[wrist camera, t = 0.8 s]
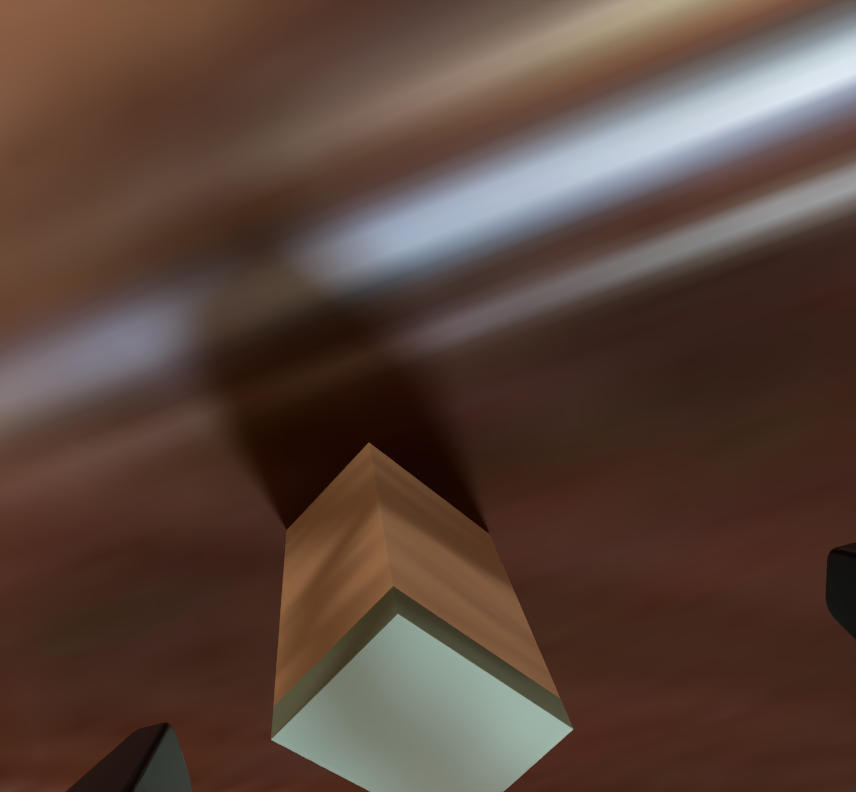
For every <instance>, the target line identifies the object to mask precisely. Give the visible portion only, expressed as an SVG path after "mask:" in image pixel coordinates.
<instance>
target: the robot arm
mask: <svg viewBox="0 0 856 792" xmlns="http://www.w3.org/2000/svg"><path fill="white" fill-rule="evenodd" d="M826 603H827V607H828V609H829V611H830V613H831V614H832V616H833V617H834V619H835V620H836V621H837V622H838V623H839V624H840V625H841V626H842V627H843V628H844V629H845V630H846V631H847V632H848V633H849V634H850V635H851V636H852V637H853V638H854V639H855V640H856V543H852V544H848V545H844V546H840V547H836V548H834V549H832V550H831V551H830V553H829V555H828V558H827V576H826ZM66 792H191V784H190V778H189V773H188V770H187V767H186V764H185V760H184V757H183V754H182V751H181V748H180V745H179V742H178V739H177V736H176V733H175V730H174V728H173V727H172V726H171V725H170V724H169V723H161V724H157V725H153V726H149V727H145V728H141V729H138V730H136V731H135V732H133V733H132V734H131V735H130V736H129V737H127V738H126V739H125V740H124V741H123V742H122V743H121V744H119V745H118V746H117V747H116V748H115V749H114V750H113V751H111V752H110V753H109V754H108V755H107V756H106V757H105V758H104V759H102V760H101V761H100V762H99V763H98V764H97V765H96V766H94V767H93V768H92V769H91V770H90V771H89V772H88V773H86V774H85V775H84V776H83V777H82V778H81V779H80V780H78V781H77V782H76V783H75V784H74V785H73V786H72V787H70V788H69V789H68V790H67V791H66Z"/></svg>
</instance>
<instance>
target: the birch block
mask: <svg viewBox="0 0 856 792" xmlns="http://www.w3.org/2000/svg"><path fill="white" fill-rule="evenodd" d="M572 730H573V727H572V725H571V723H570V720H569V718H568V716H567V713H566V711H565V709H564V706H563V704H562V702H561V699H560V697H559V695H558V692H557V690H556V688H555V685H554V683H553V681H552V678H551V676H550V674H549V671H548V669H547V667H546V664H545V662H544V660H543V657H542V655H541V653H540V650H539V648H538V646H537V643H536V641H535V639H534V636H533V634H532V632H531V629H530V627H529V625H528V622H527V620H526V618H525V615H524V613H523V611H522V609H521V606H520V604H519V602H518V599H517V597H516V595H515V592H514V590H513V588H512V585H511V583H510V581H509V578H508V576H507V574H506V571H505V569H504V567H503V564H502V562H501V560H500V557H499V555H498V553H497V550H496V548H495V546H494V543H493V541H492V539H491V536H490V534H489V533H487V532H486V531H485V530H483V529H482V528H481V527H479V526H478V525H477V524H475V523H474V522H473V521H472V520H470V519H469V518H468V517H466V516H465V515H464V514H462V513H461V512H460V511H458V510H457V509H456V508H454V507H453V506H452V505H451V504H449V503H448V502H447V501H445V500H444V499H443V498H441V497H440V496H439V495H437V494H436V493H435V492H433V491H432V490H431V489H430V488H428V487H427V486H426V485H424V484H423V483H422V482H420V481H419V480H418V479H416V478H415V477H414V476H412V475H411V474H410V473H409V472H407V471H406V470H405V469H403V468H402V467H401V466H399V465H398V464H397V463H395V462H394V461H393V460H391V459H390V458H389V457H388V456H386V455H385V454H384V453H382V452H381V451H380V450H378V449H377V448H376V447H374V446H373V445H372V444H370V443H368V444H367V445H366V446H365V447H364V448H363V449H362V450H361V451H360V452H359V453H358V455H357V456H356V457H355V458H354V459H353V460H352V461H351V462H350V463H349V464H348V465H347V466H346V467H345V468H344V470H343V471H342V472H341V473H340V474H339V475H338V476H337V477H336V478H335V479H334V480H333V481H332V482H331V483H330V484H329V486H328V487H327V488H326V489H325V490H324V491H323V492H322V493H321V494H320V495H319V496H318V497H317V498H316V499H315V501H314V502H313V503H312V504H311V505H310V506H309V507H308V508H307V509H306V510H305V511H304V512H303V513H302V514H301V515H300V517H299V518H298V519H297V520H296V521H295V522H294V523H293V524H292V525H291V526H290V527H289V528H288V529H287V534H286V547H285V560H284V574H283V587H282V601H281V614H280V628H279V641H278V655H277V668H276V682H275V695H274V708H273V722H272V735H271V740H273V741H275V742H277V743H278V744H280V745H282V746H284V747H286V748H288V749H290V750H292V751H294V752H296V753H298V754H299V755H301V756H303V757H305V758H307V759H309V760H311V761H313V762H315V763H317V764H319V765H321V766H322V767H324V768H326V769H328V770H330V771H332V772H334V773H336V774H338V775H340V776H342V777H343V778H345V779H347V780H349V781H351V782H353V783H355V784H357V785H359V786H361V787H363V788H365V789H366V790H368V791H370V792H503V791H505V790H506V789H507V788H508V787H509V786H510V785H511V784H512V783H514V782H515V781H516V780H517V779H518V778H519V777H520V776H521V775H523V774H524V773H525V772H526V771H527V770H528V769H529V768H530V767H532V766H533V765H534V764H535V763H536V762H537V761H538V760H539V759H540V758H542V757H543V756H544V755H545V754H546V753H547V752H548V751H549V750H551V749H552V748H553V747H554V746H555V745H556V744H557V743H558V742H560V741H561V740H562V739H563V738H564V737H565V736H566V735H567V734H568V733H570V732H571V731H572Z"/></svg>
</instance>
